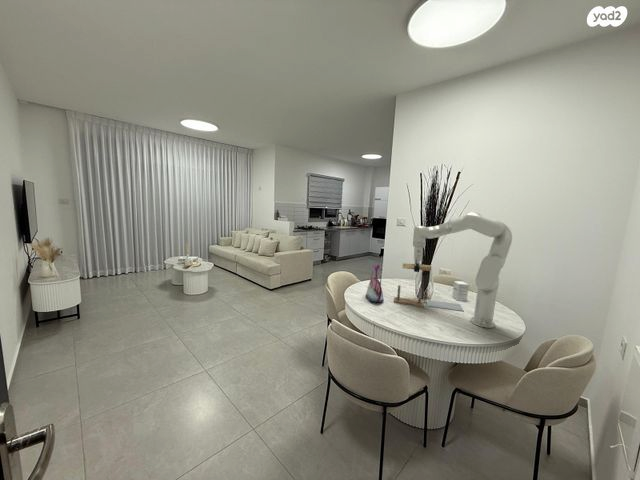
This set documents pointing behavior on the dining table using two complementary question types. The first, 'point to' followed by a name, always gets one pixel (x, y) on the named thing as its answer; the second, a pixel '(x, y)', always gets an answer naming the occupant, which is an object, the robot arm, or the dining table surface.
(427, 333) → the dining table surface
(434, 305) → the slate mat
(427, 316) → the dining table surface
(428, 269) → the oak rail
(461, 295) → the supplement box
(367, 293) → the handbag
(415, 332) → the dining table surface
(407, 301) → the hook stand
